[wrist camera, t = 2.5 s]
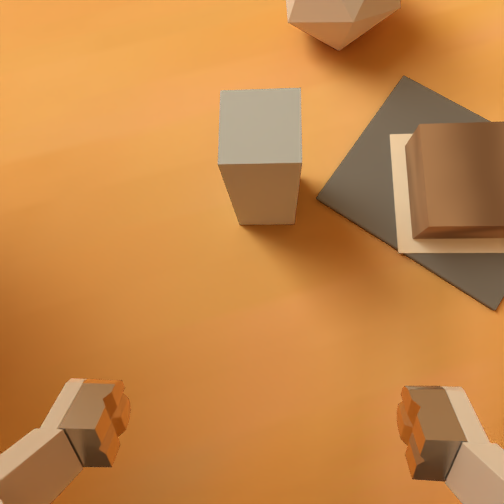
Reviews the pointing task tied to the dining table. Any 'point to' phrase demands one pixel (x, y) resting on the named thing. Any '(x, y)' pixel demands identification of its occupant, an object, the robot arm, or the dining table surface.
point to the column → (261, 153)
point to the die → (338, 18)
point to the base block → (456, 180)
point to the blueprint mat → (397, 195)
